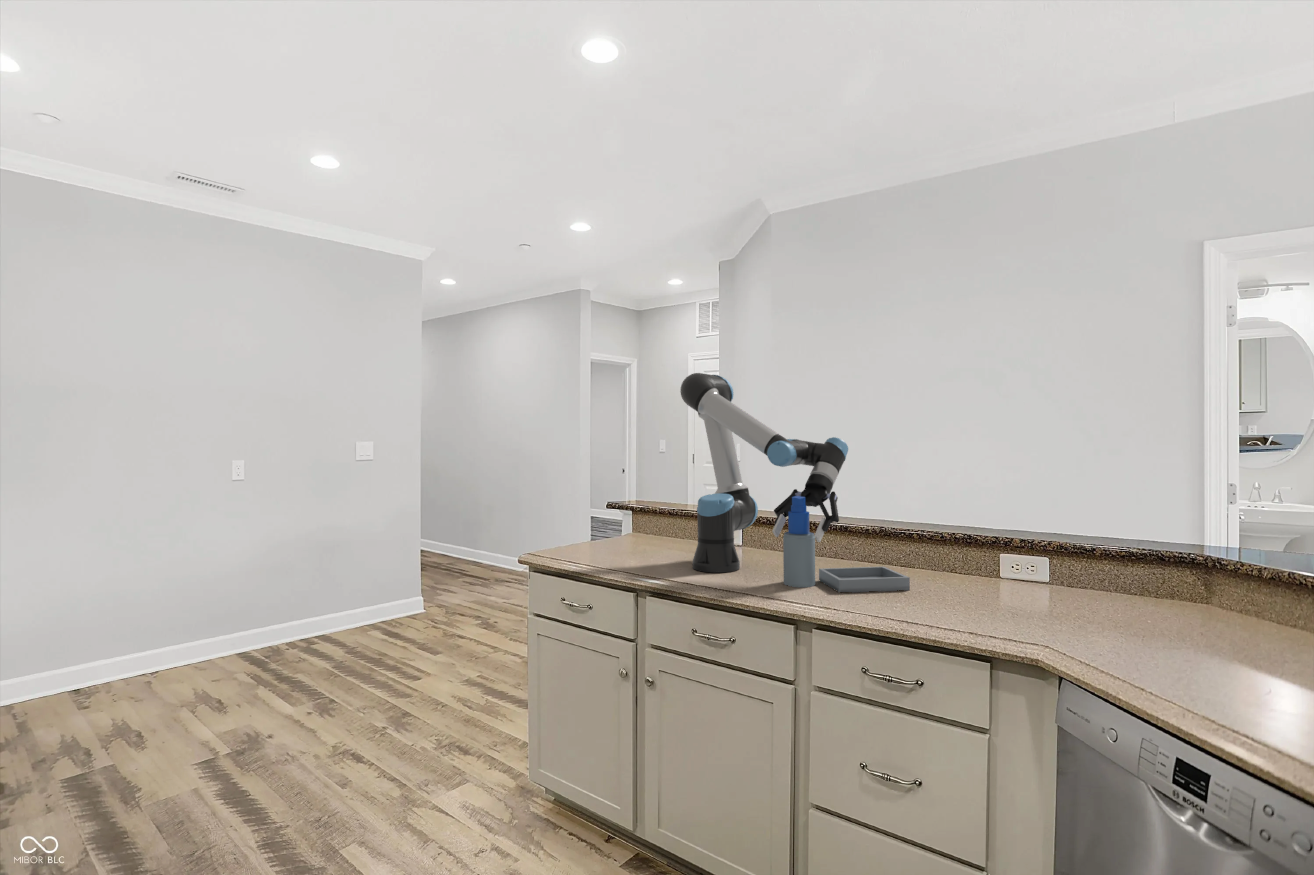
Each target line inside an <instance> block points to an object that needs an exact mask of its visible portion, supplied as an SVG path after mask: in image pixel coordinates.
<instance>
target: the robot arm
mask: <svg viewBox="0 0 1314 875" xmlns="http://www.w3.org/2000/svg"><path fill="white" fill-rule="evenodd" d="M679 392H680V397H681V398H682V401H683V402H684V403H685V404H686V405H687V406H688V407H689V408H691V409H693V410H694V411H696V412H697V414H698V418H700V419H702V420H703V422H704V427H705V432H706V436H707V437H706V438H707V441H708V446H709V451H710V456H711V457H710V458H711V461H712V466H713V471H714V476H715V480H716V481H715V482H716V485H717V488H716V491H715V492H714V493H712V494H705V495H702V496H700V498H699V499H698V500H697V507H696V512H697V513H696V514H697V545H696V549H695V552H694V556H693V558H692V569H693V570H695V571H697V572H698V571H699V572H704V573H718V574H719V573H731V572H735V571H739V570H740V568H741V566H740V562H741V561H740V558H739V555H738V553H737V552H738V551H737V549H736V546H735V532H736V531H741V530H745V529H746V528H748V527H750V526H751V525H753V523H755V521H756V519H757V518H758V513H759V507H758V503H757V501H756V500H755V499H754V498H753V497H752V496H751V495H750V491H749V487H748V486H747V485H746V484H744V483H743V480H742V474H741V470H740V465H739V461H738V454H737V449H736V446H735V441H734V436H733V434H735V435H736V436H738V437H739V438H741V439H742V440H743V441H745V442H747V444H749V445H750V446H752V447H754V448H755V449H757V450H758V451H759V452H761V453H762V454H764V455H765V456H767V459H768V460H769V462H770V463H771V464H772V465H774V466H777V467H781V468H784V467H789V466H798V465H799V466H800V465H802V466H808V467H809V466H810V467H812V469H811V472H810V473H809V476H808V479H807V480H806V482H805V485H804V489H803V490H802V491H799V490H798V489H797V488H795V489H793V491H792V492H791V493H790V495H789V496H787V497H786V498H785V499H784V500H783V501H782V502H781V503H779V505H778V506H776V507H775V508H774V509H773V512H774V514H775V515H776V518H775V520H774V526H773V529H772V531H771V532H772V534H773V536H774V537H775V538H779V536H780V534H781V531H782V530H783V527H784V525H785V523H786V521H787V519H786V518H788V512H789V511H791V505H792V497H794V496H801V497H805V506H806V507H813V508H817V507H820V509H821V511H822V513H823V516H824V517H821V520H820V522H819V524H818V526H817V528H816V530H815V533H814V537H815V541H817V543H821V541H822V539H823V536H824V534H825V532H828V530H829V529H830V526H831V524H832V523H838V522H840V516H839V513H838V512H839V511H838V510H839V509H838V505H837V501H838V496H837V494H836V492H835V491H832V490H833V486H834V485H835V482H836V480H837V479H838V478H837V477H838V476H839V474H840V471H841V469H842V467H843V465H844V464H845V461H846V460H847V454H848V452H849V446H848V444H847V443H846V441H844V439H841V438H838V437H836V436H835V437H834V436H833V437H829V438H827V439H826V441H825V442H824V443H819V442H813V441H807V440H801V439H797V438H786V437H784V436H782V435H781V434H780V433H778V432H776V431H775V430H774V429H772V428H771V427H769V426H768V425H766V424H765V423H764V422H762V421H760V420H759V419H757V418H755V417H754V416H752V415H751V414H749V413H748V412H746V411H744V410H743V409H742V408H740V407H739V406H738V405H736V404H734V403H732V401H733V399H734V388H733V386H732V384H731V382H730V381H729V380H728V379H727V378H724V377H723V376H720V375H718V374H708V373H701V372H695V373H691V374H689V375H688V376H686V377H685V378H684V380H683V381H682V382H681V386H680V391H679ZM827 500H829V505H830V511H831V515H830V514H829V512H828V509H827V508H826V506H825V504H824V502H826V501H827Z"/></svg>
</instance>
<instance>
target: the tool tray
mask: <svg viewBox="0 0 1314 875" xmlns="http://www.w3.org/2000/svg"><path fill="white" fill-rule="evenodd" d="M910 578H911V577H909V576H907V575H904V574H902V573H900V572H898V571H895V570H894V569H890V568H889V567H886V566H858V567H830V568H828V567H827V568H823V567H822V568H818V581H819V580H820V581H819V582H820V583H822V582H823V583H822V584H824V583H825V584H824V585H826V586H827V585H828V586H827V587H829V588H830V587H831V588H830V589H832V588H833V590H834V589H835V590H837V591H838V592H837V591H836V592H837V593H839V592H852V593H870V592H869V591H878V592H895V591H896V592H897V590H898V591H899V590H904V591H910V590H911V589H910V586H911V585H910V581H911V580H910ZM835 590H834V591H835Z"/></svg>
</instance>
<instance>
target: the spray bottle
mask: <svg viewBox="0 0 1314 875" xmlns="http://www.w3.org/2000/svg"><path fill="white" fill-rule="evenodd" d="M787 519H788V520H787V524H788V525H787V526H788V528H787V529H788V531H785V532H783V536H782V538H783V539H782V540H783V542H782V543H783V544H782V546H783V550H782V551H783V552H782V553H783V558H782V559H783V585H785V586H787V585H788V587H791V586H792V587H793V588H812V587H815V586H816V538H815V537H814V535H815V533H814V532H811V531H810V511H807V506H805V497H801V496H794V497H792V505H791V511H789V512H788V516H787ZM814 585H815V586H814Z"/></svg>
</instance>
